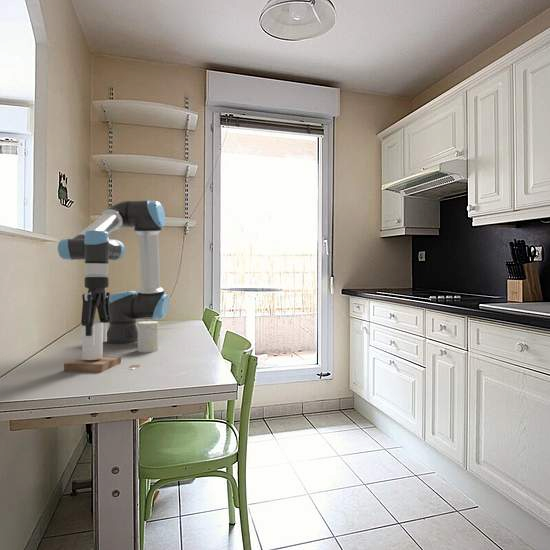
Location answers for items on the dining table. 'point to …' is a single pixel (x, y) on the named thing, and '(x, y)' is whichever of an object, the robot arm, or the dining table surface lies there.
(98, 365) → the base brick
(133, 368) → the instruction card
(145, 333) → the cup
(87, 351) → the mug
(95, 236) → the robot arm
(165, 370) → the dining table surface
